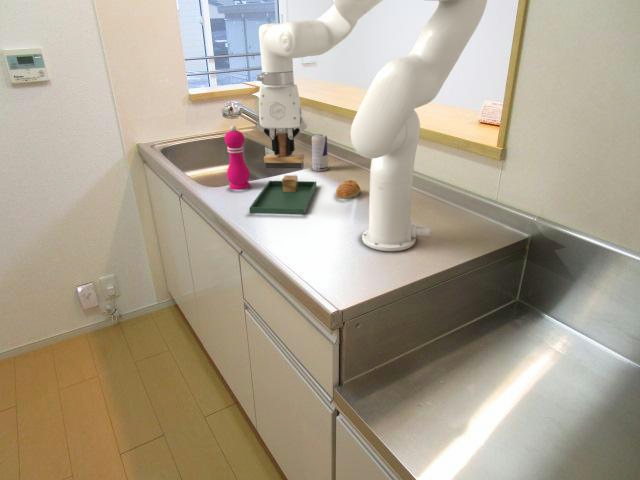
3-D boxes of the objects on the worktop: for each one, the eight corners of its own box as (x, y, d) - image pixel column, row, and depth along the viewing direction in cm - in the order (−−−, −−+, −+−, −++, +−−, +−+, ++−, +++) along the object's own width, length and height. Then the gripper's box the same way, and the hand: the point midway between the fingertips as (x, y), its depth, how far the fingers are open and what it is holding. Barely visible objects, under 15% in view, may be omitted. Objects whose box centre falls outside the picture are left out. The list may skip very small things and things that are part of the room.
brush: (304, 164, 120) (302, 130, 116) (302, 168, 116) (300, 133, 113) (268, 164, 121) (265, 131, 117) (264, 168, 118) (261, 134, 114)
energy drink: (330, 168, 161) (329, 134, 156) (322, 172, 157) (321, 138, 152) (317, 166, 164) (316, 133, 159) (309, 170, 160) (308, 136, 155)
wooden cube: (298, 187, 141) (297, 175, 139) (295, 192, 137) (295, 179, 135) (285, 187, 141) (284, 175, 140) (282, 191, 138) (282, 179, 136)
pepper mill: (253, 185, 147) (247, 122, 138) (248, 192, 140) (241, 127, 132) (231, 184, 148) (224, 123, 139) (225, 192, 141) (217, 128, 132)
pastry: (353, 202, 130) (353, 190, 129) (331, 200, 132) (331, 188, 131) (361, 191, 138) (361, 179, 137) (340, 190, 140) (340, 178, 139)
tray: (316, 188, 142) (316, 181, 141) (304, 217, 121) (304, 209, 120) (269, 187, 144) (269, 180, 143) (250, 215, 123) (249, 207, 122)
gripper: (241, 82, 107) (249, 157, 115) (308, 80, 105) (312, 157, 113) (250, 78, 114) (257, 150, 122) (313, 77, 111) (316, 150, 119)
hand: (283, 153), depth 117 cm, fingers closed on brush, 2 cm apart
